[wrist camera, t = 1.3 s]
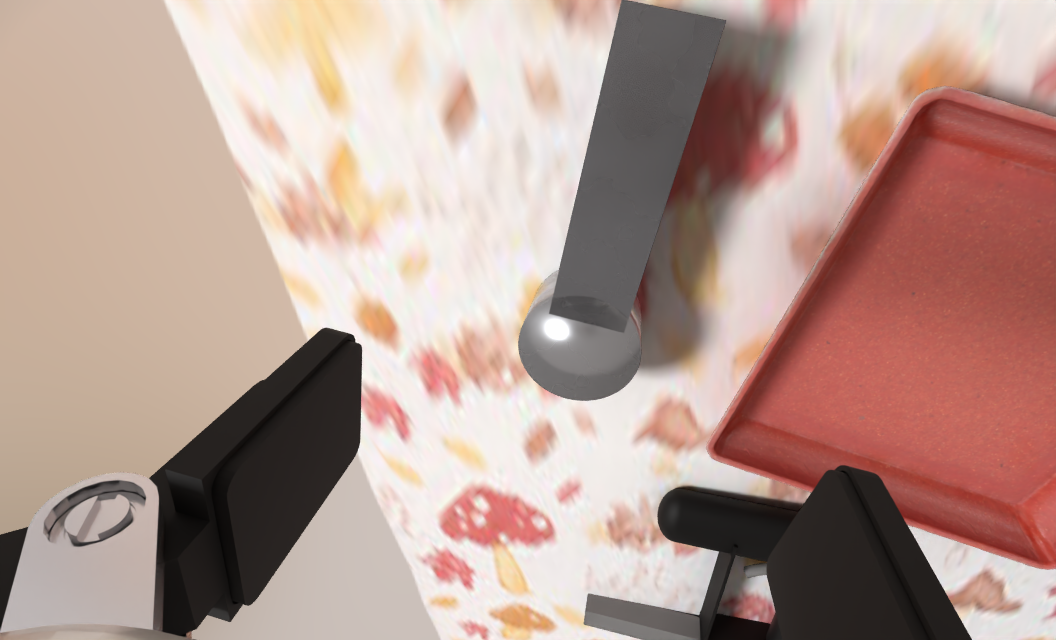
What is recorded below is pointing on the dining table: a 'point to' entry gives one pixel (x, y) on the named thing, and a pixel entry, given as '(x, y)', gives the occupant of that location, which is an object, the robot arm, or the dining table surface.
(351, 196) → the dining table surface
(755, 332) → the dining table surface
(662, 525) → the door handle
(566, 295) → the ball joint lever
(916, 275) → the plant saucer
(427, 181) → the dining table surface
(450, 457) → the dining table surface
